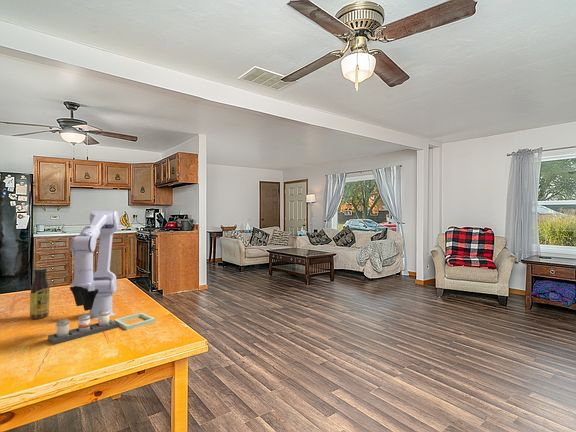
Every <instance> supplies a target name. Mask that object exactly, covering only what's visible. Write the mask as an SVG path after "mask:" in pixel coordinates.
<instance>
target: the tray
mask: <svg viewBox="0 0 576 432" xmlns="http://www.w3.org/2000/svg"><path fill="white" fill-rule="evenodd" d="M138 318H142V319H145V320H141V321H138V322H135V323H130V324H127V323H125V322H127V321H131V320H134V319H138ZM113 321H114V322H116V323H117V327H120V328H121V329H124V330H127V331H129V330H132V329H135V328H140V327H143V326H146V325H149V324H153V323H154V324H155V323H156V318H155V317H153V316H151V315H148V314H146V313H144V312H139V313H135V314H134V313H133V314H130V315H126V316H123V317H119V318H115V319H113Z"/></svg>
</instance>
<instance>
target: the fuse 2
mask: <svg viewBox="0 0 576 432" xmlns="http://www.w3.org/2000/svg"><path fill="white" fill-rule="evenodd" d="M97 320H98V323H99V327H103V326H107V325H110V324H109V320H110V316H109V310H104V311H100V312H98V319H97Z"/></svg>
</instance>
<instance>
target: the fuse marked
mask: <svg viewBox="0 0 576 432" xmlns="http://www.w3.org/2000/svg"><path fill="white" fill-rule="evenodd" d="M77 318H78V321H77V322H78V325H77V328H78V330H79V331H78V332H79V333H80V332H84V331H88V330H90V325H91V316H90V315H87V314H82V315H79V316H78V317H77Z"/></svg>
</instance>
